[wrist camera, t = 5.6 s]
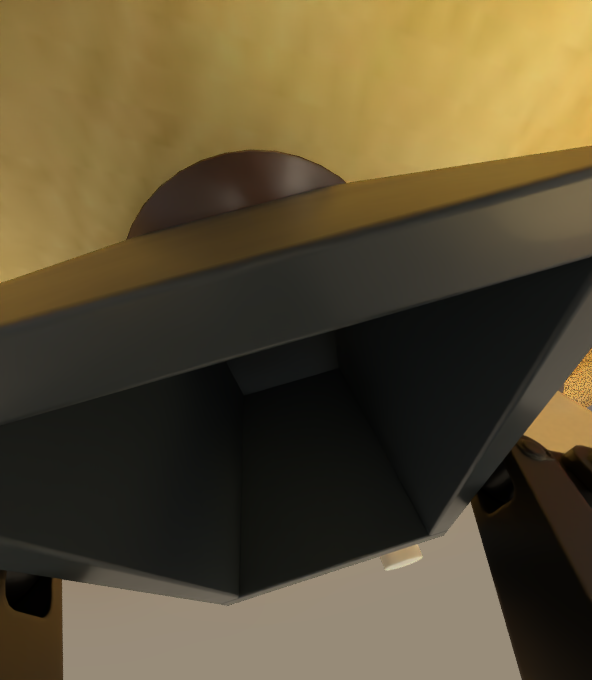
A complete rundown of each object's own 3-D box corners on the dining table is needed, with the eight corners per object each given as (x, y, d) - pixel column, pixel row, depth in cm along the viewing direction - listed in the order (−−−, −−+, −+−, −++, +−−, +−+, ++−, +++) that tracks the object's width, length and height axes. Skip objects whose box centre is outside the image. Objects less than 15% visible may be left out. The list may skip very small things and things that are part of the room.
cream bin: (463, 417, 25) (570, 526, 17) (540, 379, 24) (701, 479, 15) (472, 457, 33) (548, 545, 25) (530, 430, 32) (632, 515, 23)
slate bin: (141, 234, 10) (-582, 482, 1) (330, 185, 10) (782, 114, 2) (248, 417, 18) (247, 609, 10) (348, 387, 18) (434, 548, 10)
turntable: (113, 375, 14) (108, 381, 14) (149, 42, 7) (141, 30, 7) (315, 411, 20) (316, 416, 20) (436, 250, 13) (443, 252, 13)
